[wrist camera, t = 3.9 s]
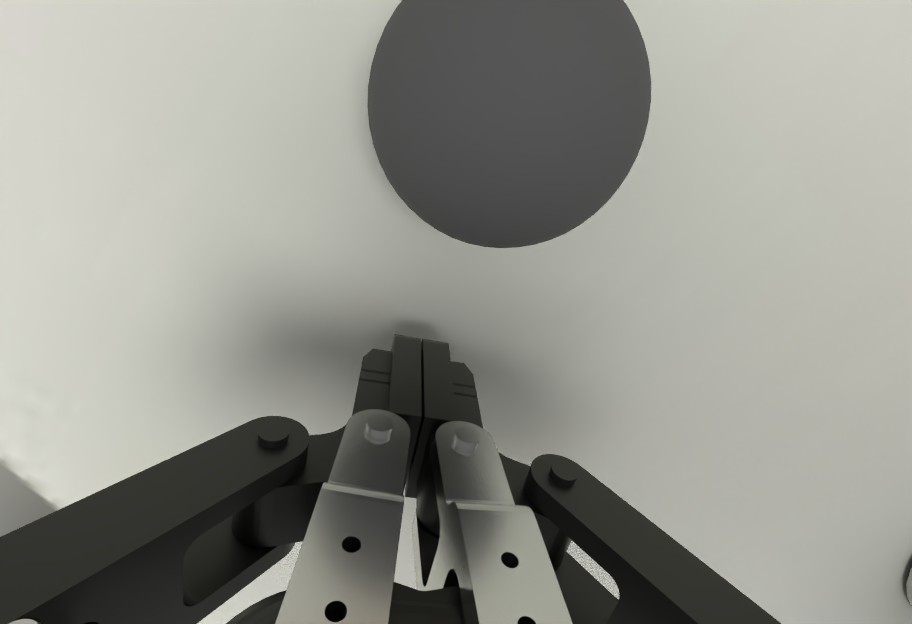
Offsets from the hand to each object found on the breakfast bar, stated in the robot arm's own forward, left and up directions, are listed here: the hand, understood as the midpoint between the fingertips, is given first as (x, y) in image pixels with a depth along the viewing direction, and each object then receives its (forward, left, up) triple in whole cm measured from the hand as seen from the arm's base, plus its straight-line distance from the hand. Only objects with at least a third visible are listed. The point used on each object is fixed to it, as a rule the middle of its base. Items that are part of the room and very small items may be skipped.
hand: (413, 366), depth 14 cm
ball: (+4, -6, +1) cm, 7 cm away
